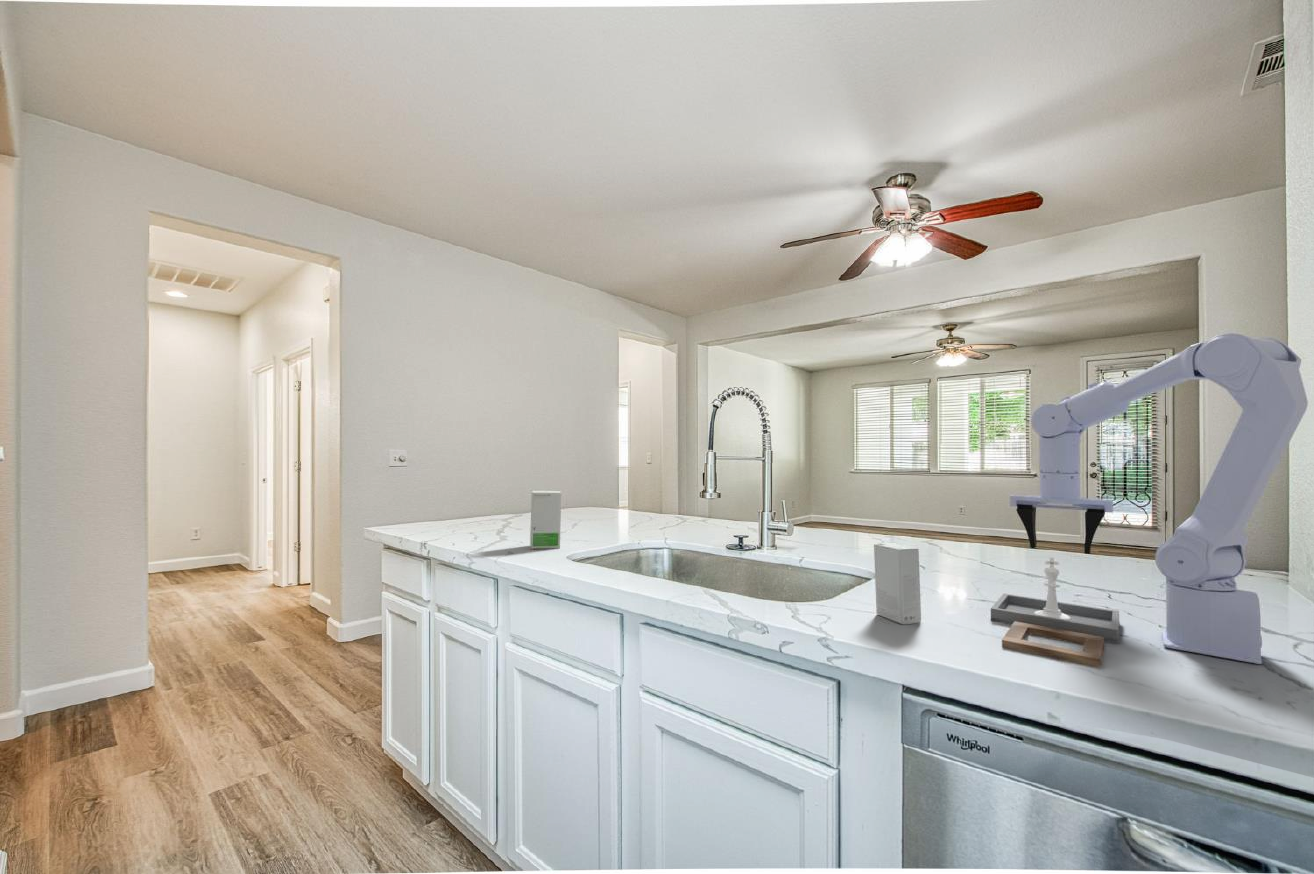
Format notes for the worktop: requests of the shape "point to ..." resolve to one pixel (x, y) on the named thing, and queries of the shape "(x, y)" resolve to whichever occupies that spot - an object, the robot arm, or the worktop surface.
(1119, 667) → the worktop surface
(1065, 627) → the parts tray
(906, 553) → the skincare box
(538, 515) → the skincare box
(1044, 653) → the walnut holder
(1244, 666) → the worktop surface
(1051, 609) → the chess piece
